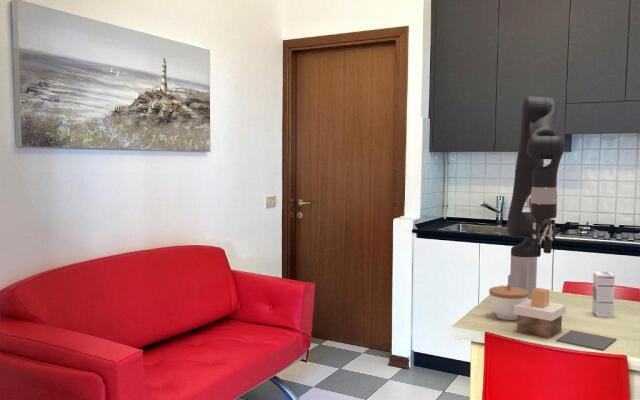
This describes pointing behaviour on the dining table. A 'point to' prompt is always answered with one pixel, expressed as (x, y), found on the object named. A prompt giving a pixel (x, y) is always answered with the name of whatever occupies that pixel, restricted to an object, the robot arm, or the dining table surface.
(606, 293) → the syrup box
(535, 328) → the storage box
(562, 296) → the dining table surface
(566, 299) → the dining table surface
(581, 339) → the mat
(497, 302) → the lidded bowl
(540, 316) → the lid
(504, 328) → the dining table surface
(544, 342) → the dining table surface
